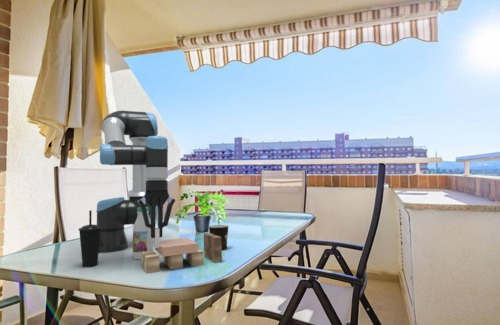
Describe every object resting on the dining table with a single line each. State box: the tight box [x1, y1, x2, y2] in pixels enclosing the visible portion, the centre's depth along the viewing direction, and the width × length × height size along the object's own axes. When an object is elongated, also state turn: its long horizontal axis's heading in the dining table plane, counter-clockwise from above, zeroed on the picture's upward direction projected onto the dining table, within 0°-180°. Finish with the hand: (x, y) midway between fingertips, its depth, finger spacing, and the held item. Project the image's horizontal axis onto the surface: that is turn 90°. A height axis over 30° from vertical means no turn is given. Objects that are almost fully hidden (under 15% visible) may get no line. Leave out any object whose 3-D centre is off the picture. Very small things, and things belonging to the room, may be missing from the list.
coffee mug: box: [208, 224, 229, 251], centre depth 136 cm, size 12×9×10 cm
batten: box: [185, 247, 204, 267], centre depth 115 cm, size 11×4×5 cm, turn 23°
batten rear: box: [140, 249, 160, 274], centre depth 107 cm, size 11×4×5 cm, turn 29°
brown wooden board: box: [203, 232, 223, 264], centre depth 119 cm, size 12×2×9 cm, turn 29°
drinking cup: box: [78, 210, 102, 268], centre depth 114 cm, size 8×8×20 cm
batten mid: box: [163, 254, 184, 270], centre depth 111 cm, size 11×4×5 cm, turn 29°
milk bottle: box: [132, 207, 154, 260], centre depth 125 cm, size 8×8×20 cm
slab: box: [154, 237, 199, 258], centre depth 112 cm, size 14×12×3 cm
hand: (156, 247), depth 109 cm, fingers closed
